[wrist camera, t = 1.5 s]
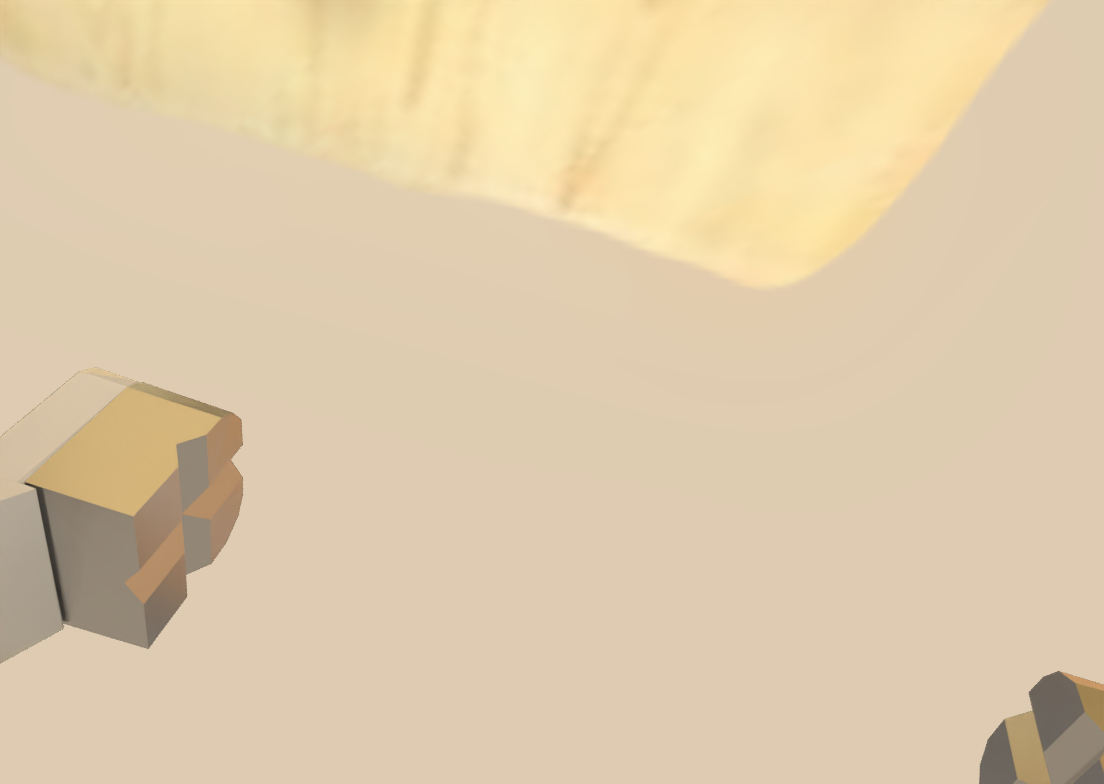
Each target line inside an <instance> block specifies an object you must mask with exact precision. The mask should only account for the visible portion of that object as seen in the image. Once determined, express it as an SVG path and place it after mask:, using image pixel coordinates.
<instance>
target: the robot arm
mask: <svg viewBox="0 0 1104 784" xmlns="http://www.w3.org/2000/svg"><path fill="white" fill-rule="evenodd" d="M241 424H242V423H241V419H240V418H239V417H238V416H236V415H235V414H234V413H232V412H228V411H226V410H223V409H220V408H217V407H214V406H211V405H208V404H205V403H202V402H199V401H196V400H193V399H190V398H187V397H185V396H182V395H178V394H176V393H173V392H170V391H167V390H164V389H161V388H158V387H155V386H152V385H149V384H146V383H144V382H141V383H140V382H137V381H134V380H131V379H128V378H125V377H122V376H120V375H117V374H114V373H111V372H108V371H105V370H102V369H99V368H96V367H95V368H91V369H87V370H83V371H80V372H78V373H76V374H75V375H74V376H73V377H72V378H71V379H69V380H68V381H67V382H66V383H64V384H63V385H62V386H61V387H60V388H59V389H57V390H56V391H55V392H54V393H53V394H51V395H50V396H49V397H48V398H46V399H45V400H44V401H43V402H42V403H40V404H39V405H38V406H37V407H36V408H34V409H33V410H32V411H31V412H29V413H28V414H27V415H26V416H25V417H23V418H22V419H21V420H20V421H19V422H17V423H16V424H15V425H14V426H13V427H11V428H10V429H9V430H8V431H7V432H5V433H4V434H3V435H2V436H1V437H0V663H2V662H4V661H6V660H8V659H9V658H11V657H13V656H15V655H17V654H19V653H20V652H22V651H24V650H26V649H28V648H29V647H31V646H33V645H35V644H37V643H39V642H41V641H42V640H44V639H46V638H48V637H50V636H52V635H53V634H55V633H57V632H59V631H61V630H62V629H63V628H64V625H63V624H67V625H71V626H73V627H77V628H80V629H83V630H87V631H90V632H93V633H97V634H101V635H103V636H107V637H110V638H113V639H117V640H120V641H123V642H127V643H130V644H134V645H137V646H140V647H144V648H147V649H149V647H150V646H151V645H152V643H153V642H154V641H155V639H156V638H157V637H158V635H159V634H160V633H161V631H162V630H163V629H164V627H165V625H167V623H168V622H169V620H170V619H171V618H172V616H173V615H174V614H175V612H176V611H177V610H178V608H179V607H180V606H181V604H182V603H183V602H184V600H185V599H186V597H187V585H186V575H187V574H189V573H191V572H193V571H196V570H198V569H200V568H203V567H205V566H207V565H209V564H211V563H212V562H213V561H214V559H215V558H216V557H217V555H218V554H219V552H220V551H221V549H222V548H223V547H224V545H225V544H226V542H227V540H228V538H229V536H230V533H231V531H232V529H233V527H234V524H235V522H236V520H237V517H238V515H239V510H240V505H241V501H242V496H243V477H242V475H241V474H240V472H239V471H238V470H237V468H236V467H235V465H234V464H233V462H232V461H231V458H232V457H233V456H234V455H235V453H236V452H237V451H238V450H239V449H240V447H241V446H242V445H243V442H242V425H241ZM1029 696H1030V701H1031V706H1032V711H1030V712H1026V713H1023V714H1020V715H1016V716H1013V717H1010V718H1007V719H1004V720H1003V722H1002V723H1001V724H1000V725H999V726H998V728H997V729H996V730H995V732H994V733H993V734H992V735H991V736H990V738H989V739H988V741H987V744H986V747H985V751H984V754H983V757H982V761H981V764H980V779H979V780H980V781H979V784H1104V685H1103V684H1100V683H1096V682H1093V681H1090V680H1086V679H1083V678H1080V677H1077V676H1073V675H1070V674H1067V673H1063V672H1060V671H1057V672H1055V673H1052V674H1050V675H1047V676H1044V677H1043V678H1042V679H1041V680H1040V681H1039V682H1038V683H1037V684H1036V685H1035V686H1034V687H1033V688H1032V689H1031V691H1030V692H1029Z"/></svg>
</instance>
